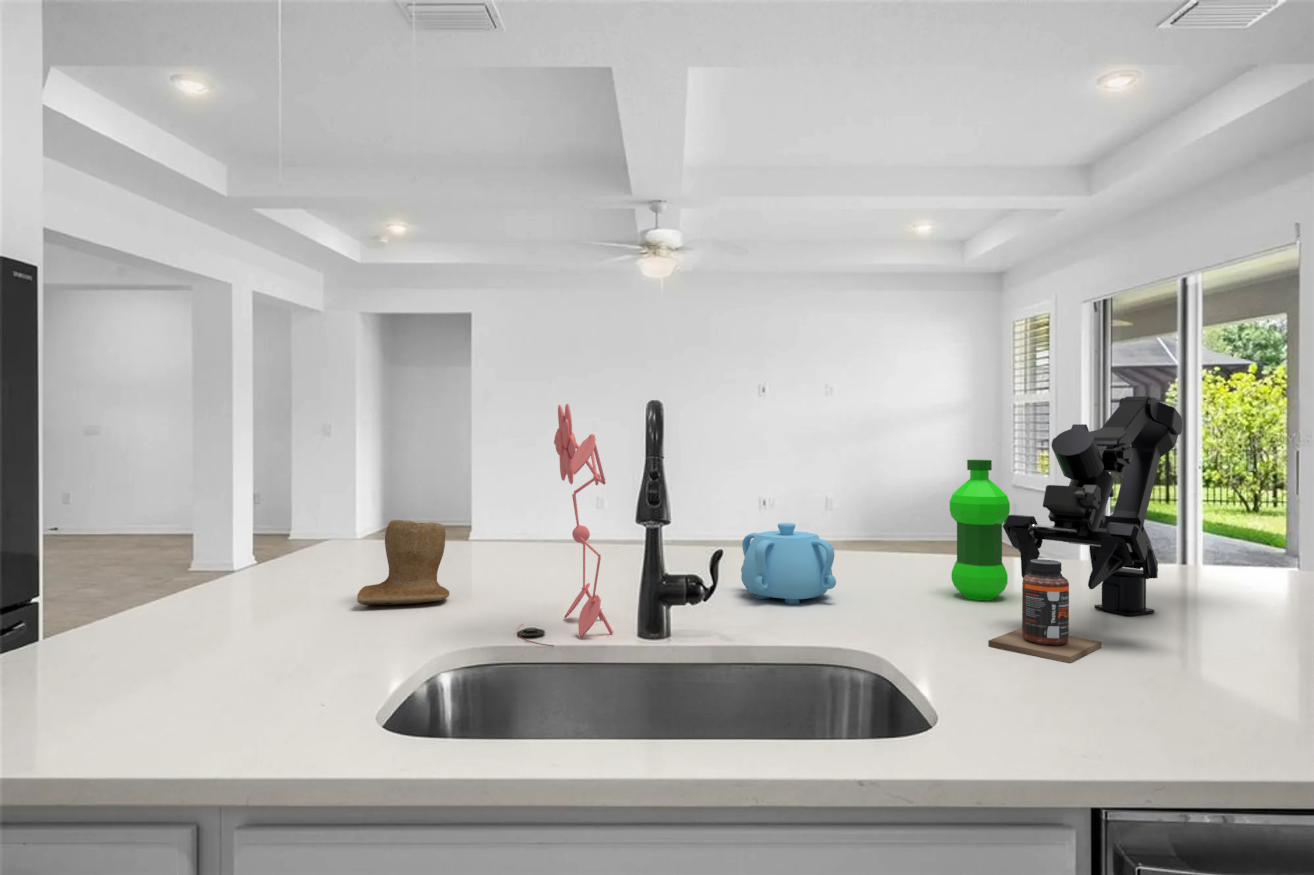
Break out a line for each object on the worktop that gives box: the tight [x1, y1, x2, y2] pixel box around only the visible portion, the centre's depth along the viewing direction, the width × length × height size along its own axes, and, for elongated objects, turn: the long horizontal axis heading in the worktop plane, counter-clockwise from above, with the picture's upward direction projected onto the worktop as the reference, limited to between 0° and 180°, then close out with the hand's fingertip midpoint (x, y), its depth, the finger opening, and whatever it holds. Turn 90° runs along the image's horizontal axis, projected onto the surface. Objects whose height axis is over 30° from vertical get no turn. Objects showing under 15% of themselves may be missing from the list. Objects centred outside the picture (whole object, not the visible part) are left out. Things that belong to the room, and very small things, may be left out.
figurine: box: [513, 403, 614, 647], centre depth 124 cm, size 15×26×35 cm, turn 13°
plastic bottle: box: [949, 459, 1011, 601], centre depth 146 cm, size 10×10×25 cm
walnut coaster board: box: [987, 627, 1102, 664], centre depth 113 cm, size 11×11×1 cm
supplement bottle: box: [1021, 558, 1070, 645], centre depth 113 cm, size 6×6×11 cm
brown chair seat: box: [356, 519, 451, 606], centre depth 144 cm, size 15×12×15 cm
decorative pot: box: [740, 522, 837, 605], centre depth 147 cm, size 16×16×14 cm
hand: (1056, 582), depth 115 cm, fingers open, 9 cm apart
